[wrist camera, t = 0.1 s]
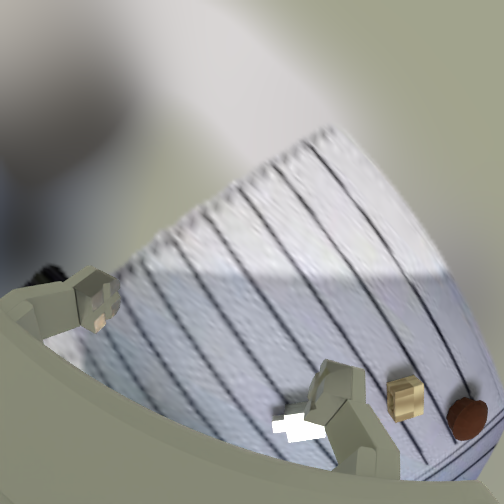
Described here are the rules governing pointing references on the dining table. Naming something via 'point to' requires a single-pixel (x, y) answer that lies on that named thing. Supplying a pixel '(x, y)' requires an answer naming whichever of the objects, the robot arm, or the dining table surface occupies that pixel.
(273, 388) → the dining table surface
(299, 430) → the outer sleeve
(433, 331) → the dining table surface
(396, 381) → the socket block
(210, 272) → the dining table surface
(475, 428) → the muffin
